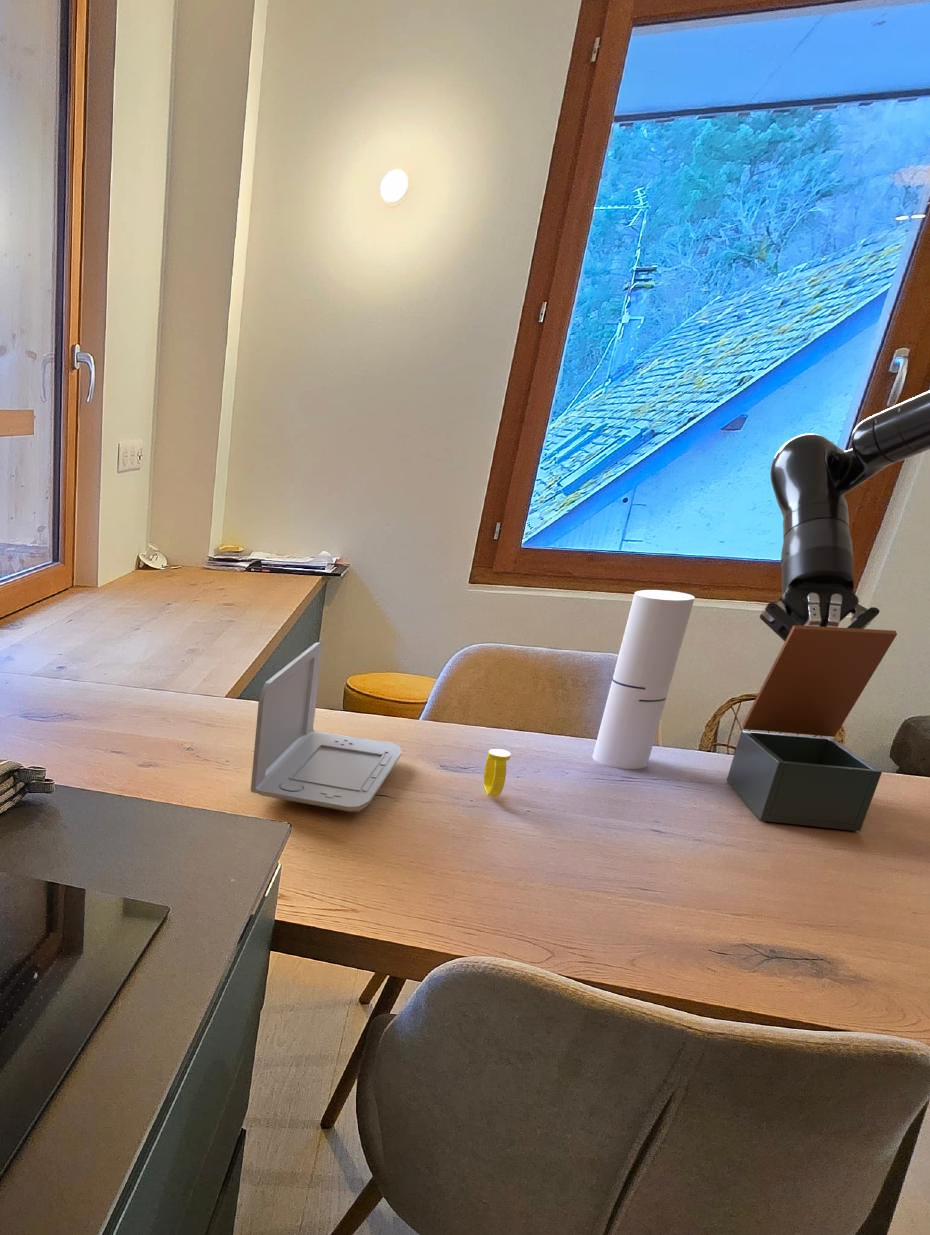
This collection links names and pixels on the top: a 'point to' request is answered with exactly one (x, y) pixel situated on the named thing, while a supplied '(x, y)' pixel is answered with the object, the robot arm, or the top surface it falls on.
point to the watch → (495, 771)
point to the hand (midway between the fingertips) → (820, 669)
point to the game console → (312, 746)
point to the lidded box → (802, 780)
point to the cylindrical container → (642, 677)
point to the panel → (817, 679)
